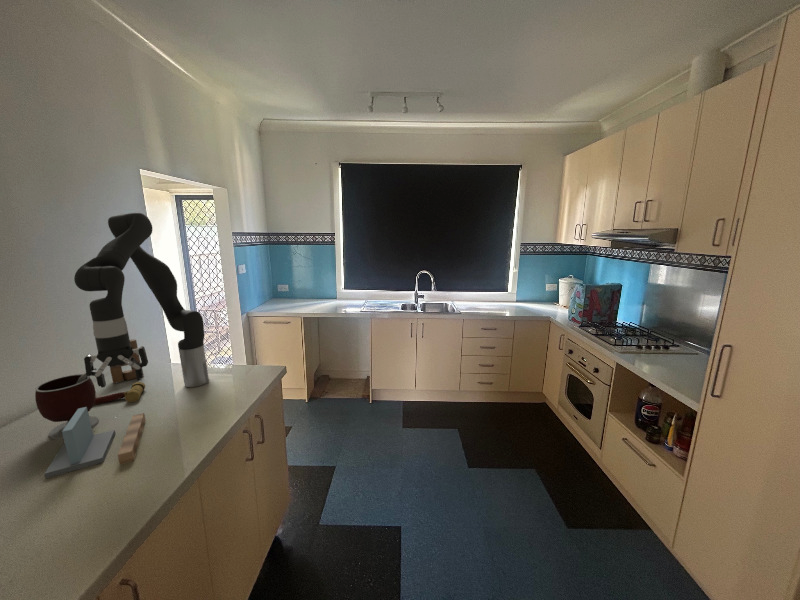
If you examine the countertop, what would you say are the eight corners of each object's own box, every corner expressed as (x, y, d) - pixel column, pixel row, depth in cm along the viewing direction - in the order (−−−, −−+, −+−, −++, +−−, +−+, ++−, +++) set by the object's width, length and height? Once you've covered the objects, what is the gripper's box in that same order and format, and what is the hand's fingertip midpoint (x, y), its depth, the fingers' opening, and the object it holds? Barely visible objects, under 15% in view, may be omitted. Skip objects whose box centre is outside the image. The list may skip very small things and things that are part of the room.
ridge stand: (115, 433, 108) (108, 401, 105) (103, 462, 94) (94, 425, 92) (66, 446, 101) (57, 411, 99) (45, 478, 88) (34, 439, 86)
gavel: (67, 406, 119) (79, 395, 128) (71, 417, 120) (82, 405, 129) (137, 390, 128) (143, 380, 137) (140, 400, 129) (146, 390, 138)
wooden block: (113, 380, 146) (105, 343, 143) (143, 374, 153) (136, 338, 149) (113, 383, 144) (104, 345, 140) (143, 377, 150) (136, 340, 146)
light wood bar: (134, 424, 113) (132, 415, 112) (145, 421, 115) (144, 412, 114) (120, 465, 93) (117, 455, 92) (134, 461, 95) (131, 451, 94)
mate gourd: (38, 446, 102) (22, 388, 97) (53, 424, 113) (39, 371, 109) (103, 429, 110) (91, 375, 106) (111, 411, 121) (100, 361, 117)
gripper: (143, 326, 103) (151, 373, 106) (83, 333, 96) (94, 384, 99) (139, 332, 97) (148, 382, 100) (75, 340, 90) (87, 394, 93)
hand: (121, 383), depth 100 cm, fingers open, 8 cm apart
